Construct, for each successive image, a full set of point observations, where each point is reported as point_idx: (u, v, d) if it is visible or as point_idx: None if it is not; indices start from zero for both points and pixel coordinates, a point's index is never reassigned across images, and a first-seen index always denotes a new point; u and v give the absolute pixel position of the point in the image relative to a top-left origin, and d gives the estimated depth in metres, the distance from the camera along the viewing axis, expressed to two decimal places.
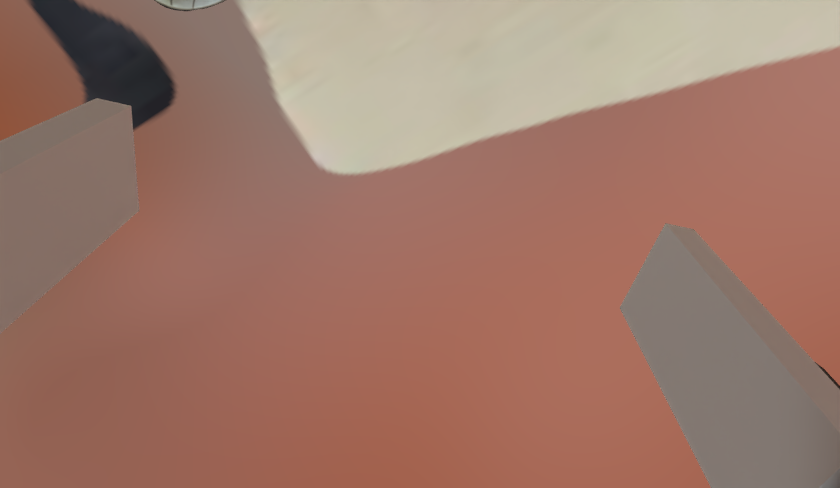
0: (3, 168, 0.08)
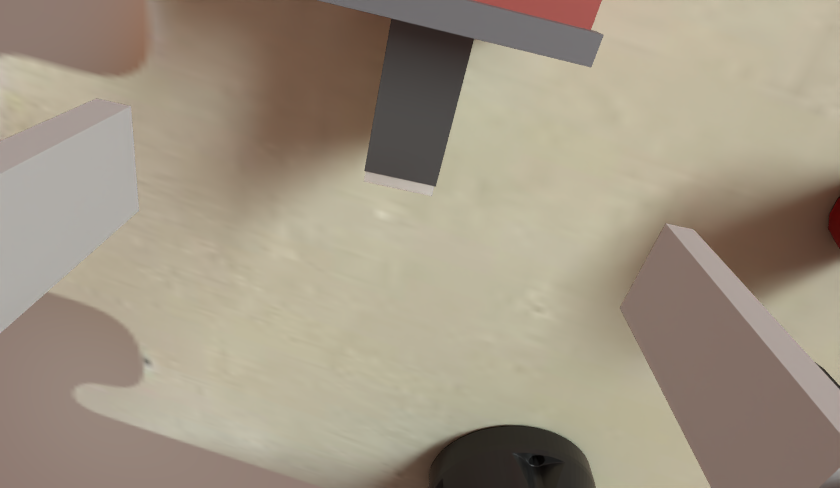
0: (3, 168, 0.08)
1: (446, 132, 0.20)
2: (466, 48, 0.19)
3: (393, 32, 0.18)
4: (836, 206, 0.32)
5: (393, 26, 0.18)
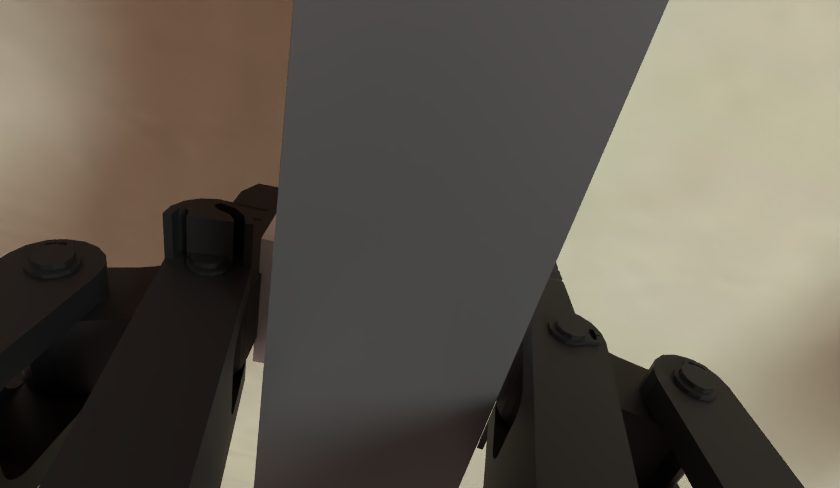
0: None
1: (467, 444, 0.07)
2: (539, 255, 0.06)
3: (291, 209, 0.05)
4: None
5: (289, 192, 0.05)
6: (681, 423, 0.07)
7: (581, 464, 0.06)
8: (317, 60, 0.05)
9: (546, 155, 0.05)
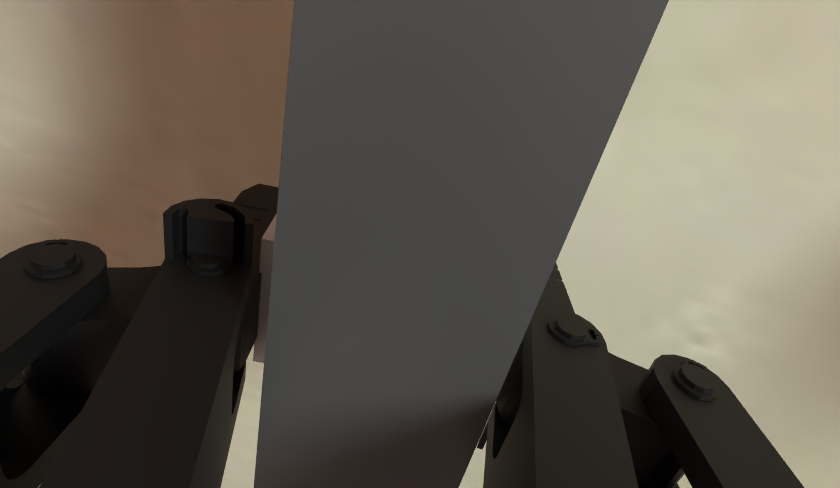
0: None
1: (467, 444, 0.07)
2: (539, 255, 0.06)
3: (291, 209, 0.05)
4: None
5: (289, 191, 0.05)
6: (681, 423, 0.07)
7: (581, 464, 0.06)
8: (317, 60, 0.05)
9: (547, 155, 0.05)
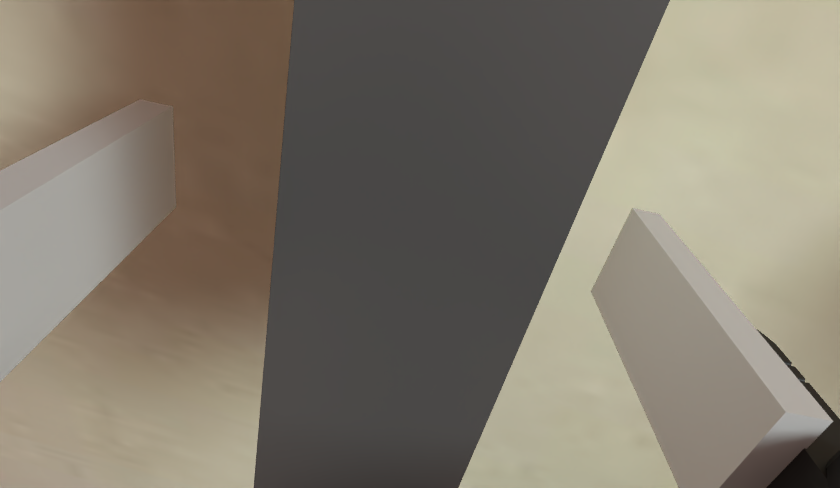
0: (68, 165, 0.09)
1: (471, 434, 0.07)
2: (545, 239, 0.05)
3: (293, 192, 0.05)
4: None
5: (291, 173, 0.05)
6: None
7: None
8: (320, 36, 0.04)
9: (554, 136, 0.05)
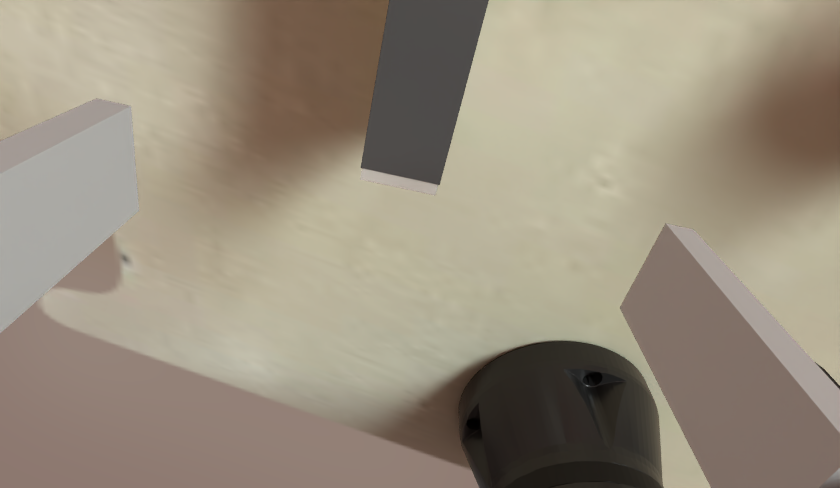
0: (3, 168, 0.08)
1: (451, 125, 0.18)
2: (474, 30, 0.16)
3: (392, 11, 0.16)
4: None
5: (392, 5, 0.16)
6: None
7: None
8: None
9: None
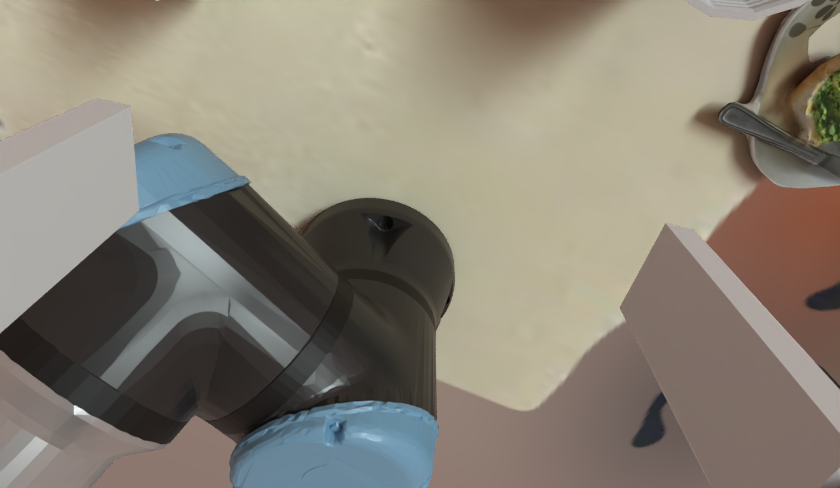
0: (3, 168, 0.08)
1: None
2: None
3: None
4: None
5: None
6: None
7: None
8: None
9: None
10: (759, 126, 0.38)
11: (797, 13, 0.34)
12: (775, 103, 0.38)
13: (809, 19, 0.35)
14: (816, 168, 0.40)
